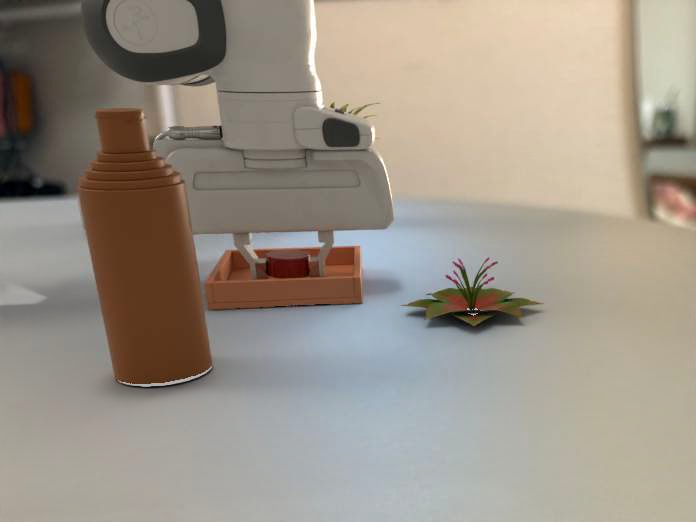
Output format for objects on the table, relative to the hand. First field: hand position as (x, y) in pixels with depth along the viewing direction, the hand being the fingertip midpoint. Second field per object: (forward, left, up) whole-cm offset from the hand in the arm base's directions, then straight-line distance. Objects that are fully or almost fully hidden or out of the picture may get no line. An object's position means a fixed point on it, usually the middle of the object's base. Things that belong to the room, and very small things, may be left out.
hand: (289, 278), depth 81 cm
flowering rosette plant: (+16, -11, -1) cm, 20 cm away
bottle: (-7, -22, -1) cm, 23 cm away
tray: (0, 0, -1) cm, 1 cm away
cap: (0, 0, +2) cm, 2 cm away
